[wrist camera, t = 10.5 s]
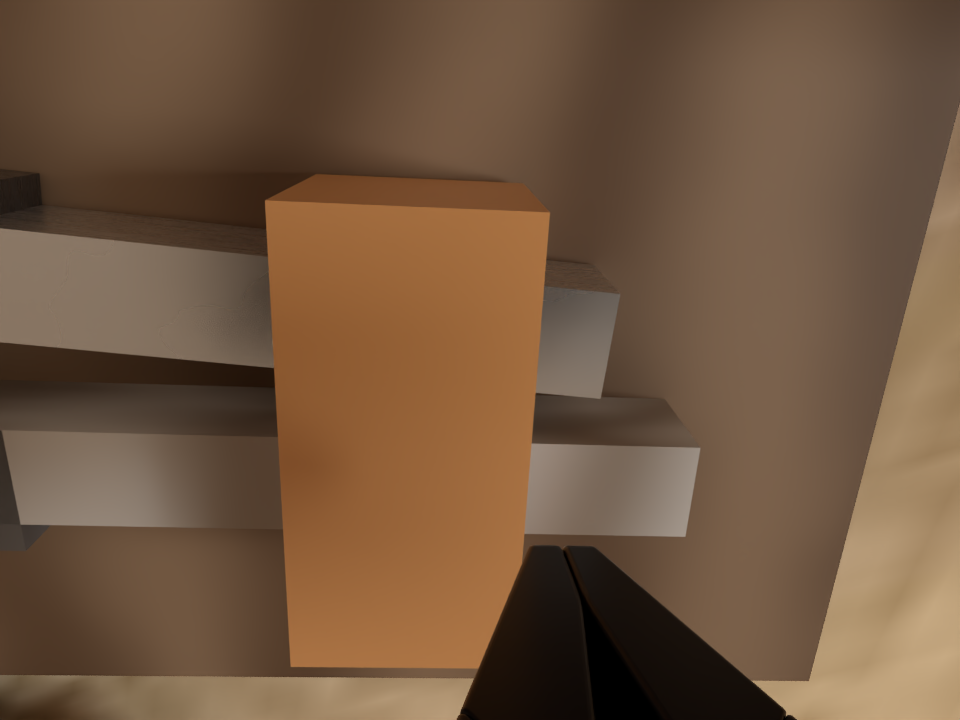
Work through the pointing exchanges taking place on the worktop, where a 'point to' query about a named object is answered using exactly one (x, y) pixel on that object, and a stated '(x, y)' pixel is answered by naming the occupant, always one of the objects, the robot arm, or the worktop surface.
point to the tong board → (571, 238)
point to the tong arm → (215, 291)
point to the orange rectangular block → (403, 411)
